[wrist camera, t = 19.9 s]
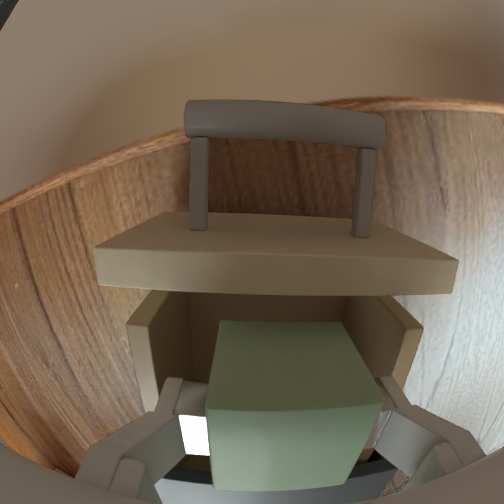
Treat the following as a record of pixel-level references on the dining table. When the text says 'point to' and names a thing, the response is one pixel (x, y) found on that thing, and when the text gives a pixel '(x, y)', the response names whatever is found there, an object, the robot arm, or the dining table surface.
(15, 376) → the dining table surface
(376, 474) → the cabinet
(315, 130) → the drawer
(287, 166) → the dining table surface
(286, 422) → the block
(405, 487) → the robot arm
